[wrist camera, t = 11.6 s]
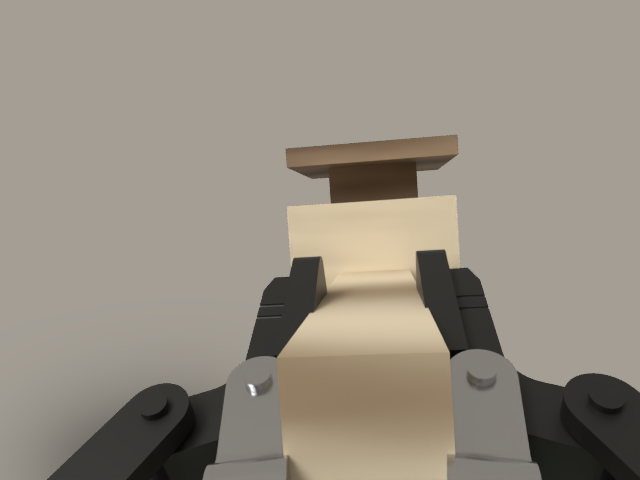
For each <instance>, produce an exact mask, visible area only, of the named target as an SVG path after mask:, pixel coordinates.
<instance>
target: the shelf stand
mask: <svg viewBox="0 0 640 480" xmlns="http://www.w3.org/2000/svg"><path fill="white" fill-rule="evenodd" d="M457 155H458V137H457V135H449V136H448V135H447V136H435V137H423V138H411V139H398V140H387V141H376V142H362V143H350V144H338V145H325V146H313V147H301V148H288V149H286V161H287V168H289V169H292V170H294V171H296V172H298V173H300V174H303V175H305V176H307V177H309V178H312V179H316V178H329V181H330V195H331V196H330V197H331V204H335V203H349V202H363V201H378V200H392V199H407V198H418V191H417V173H416V171H424V170H437V169H439V168H440V167H442V166H443V165H444V164H446V163H447V162H449V161H450V160H451V159H452V158H454V157H455V156H457Z"/></svg>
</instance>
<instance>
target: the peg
mask: <svg viewBox="0 0 640 480" xmlns="http://www.w3.org/2000/svg"><path fill="white" fill-rule="evenodd" d="M287 216H288V230H289V245H290V259H291V267H292V262H293V258H298V257H315V256H321V257H322V260H323V265H324V272H325V279H326V286H327V294H326V295H325V297H324V298H323V299H322V301H321V302H320V304H319V305H318V307H317V308H316V309H315V311H314V312H313V313H309V315H308V316H307V317H306V319H305V320H304V321H303V323H302V324H301V326H300V327H299V328H298V330H297V331H296V332H295V334H294V335H293V336H292V338H291V339H290V340H289V342H288V343H287V345H286V346H285V347H284V349H283V350H282V351H281V353H280V354H279V355H278V357H277V369H278V383H279V397H280V411H281V425H282V440H283V454H284V455H288V460H289V467H290V475H291V480H447V454H455V439H454V421H453V403H452V385H451V368H450V352H449V350H448V348H447V346H446V344H445V342H444V339H443V337H442V335H441V333H440V331H439V329H438V327H437V325H436V323H435V321H434V319H433V317H432V315H431V313H430V310H429V308H425V307H424V304H423V302H422V300H421V298H420V295H419V293H418V291H417V289H416V251H424V250H442V249H445V251H446V255H447V260H448V264H449V268H450V269H453V268H460V255H459V237H458V219H457V201H456V195H450V196H436V197H421V198H407V199H392V200H378V201H363V202H349V203H335V204H321V205H306V206H293V207H287Z"/></svg>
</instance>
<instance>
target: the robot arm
mask: <svg viewBox="0 0 640 480" xmlns="http://www.w3.org/2000/svg"><path fill="white" fill-rule="evenodd" d="M416 289H417V291H418V293H419V295H420V298H421V300H422V302H423V304H424V307H425V308H429V310H430V313H431V315H432V317H433V319H434V321H435V323H436V325H437V327H438V329H439V331H440V333H441V335H442V337H443V339H444V342H445V344H446V346H447V348H448V350H449V352H450V368H451V385H452V403H453V421H454V439H455V454H447V480H640V393H639V392H638V391H637V390H635V389H634V388H633V387H631V386H630V385H629V384H627V383H625V382H624V381H622V380H619V379H617V378H614V377H611V376H608V375H603V374H595V373H592V374H583V375H579V376H576V377H574V378H573V379H571V380H570V381H569V382H568V383H567V385H566V386H565V387H562V386H558V385H553V384H548V383H544V382H540V381H536V380H533V379H531V378H528V377H526V376H524V375H522V374H521V373H519V372H518V371H516V369H515V367H514V366H513V365H512V363H511V362H510V361H509V360H507V359H506V358H505V357H504V355H503V353H502V350H501V346H500V343H499V340H498V336H497V333H496V330H495V327H494V324H493V320H492V317H491V314H490V311H489V309H488V304H487V301H486V298H485V296H484V291H483V288H482V285H481V282H480V279H479V278H477V277H476V276H475V275H474V274H473V273H472V272H471V271H470V270H469V269H468V268H453V269H450V268H449V264H448V260H447V255H446V251H445V249H442V250H424V251H416ZM326 294H327V286H326V279H325V272H324V265H323V260H322V257H321V256H315V257H298V258H293V262H292V267H291V272H290V276H289V277H278V278H274V279H273V281H272V282H271V283H270V284H269V285H268V286H267V288H266V289H265V290H264V292H263V296H262V300H261V303H260V308H259V311H258V315H257V319H256V323H255V327H254V330H253V334H252V338H251V342H250V346H249V350H248V353H247V357H246V361H245V362H243V363H241V364H239V365H238V366H237V367H236V368H235V369H234V370H233V371H232V372H231V374H230V375H229V377H228V379H227V382H226V384H224V385H223V386H221V387H218V388H216V389H213V390H210V391H207V392H203V393H200V394H197V395H193V396H189V397H188V394H187V393H186V391H185V390H184V389H183V388H182V387H180V386H178V385H175V384H170V383H166V384H165V383H164V384H158V385H154V386H151V387H149V388H146V389H144V390H143V391H141V392H140V393H138V394H137V395H136V396H134V397H133V398H132V399H131V400H130V401H129V402H128V403H127V404H126V405H125V406H124V407H123V408H121V409H120V410H119V411H118V412H117V413H116V414H115V415H114V416H113V417H112V418H111V419H110V420H109V421H108V422H107V423H106V424H105V425H104V426H103V427H102V428H101V429H99V431H98V432H96V433H95V434H94V436H92V437H91V438H90V439H89V440H88V441H87V442H86V443H85V444H84V445H83V446H82V447H81V448H80V449H79V450H78V451H77V452H75V453H74V454H73V455H72V456H71V457H70V458H69V459H68V460H67V461H66V462H65V463H64V464H63V465H62V466H61V467H60V468H59V469H58V470H57V471H56V472H54V473H53V474H52V475H51V476H50V477H49V478H48V479H47V480H291V475H290V467H289V460H288V455H284V454H283V440H282V425H281V411H280V397H279V383H278V369H277V357H278V355H279V354H280V353H281V351H282V350H283V349H284V347H285V346H286V345H287V343H288V342H289V340H290V339H291V338H292V336H293V335H294V334H295V332H296V331H297V330H298V328H299V327H300V326H301V324H302V323H303V321H304V320H305V319H306V317H307V316H308V315H309V313H313V312H314V311H315V309H316V308H317V307H318V305H319V304H320V302H321V301H322V299H323V298H324V297H325V295H326Z"/></svg>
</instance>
